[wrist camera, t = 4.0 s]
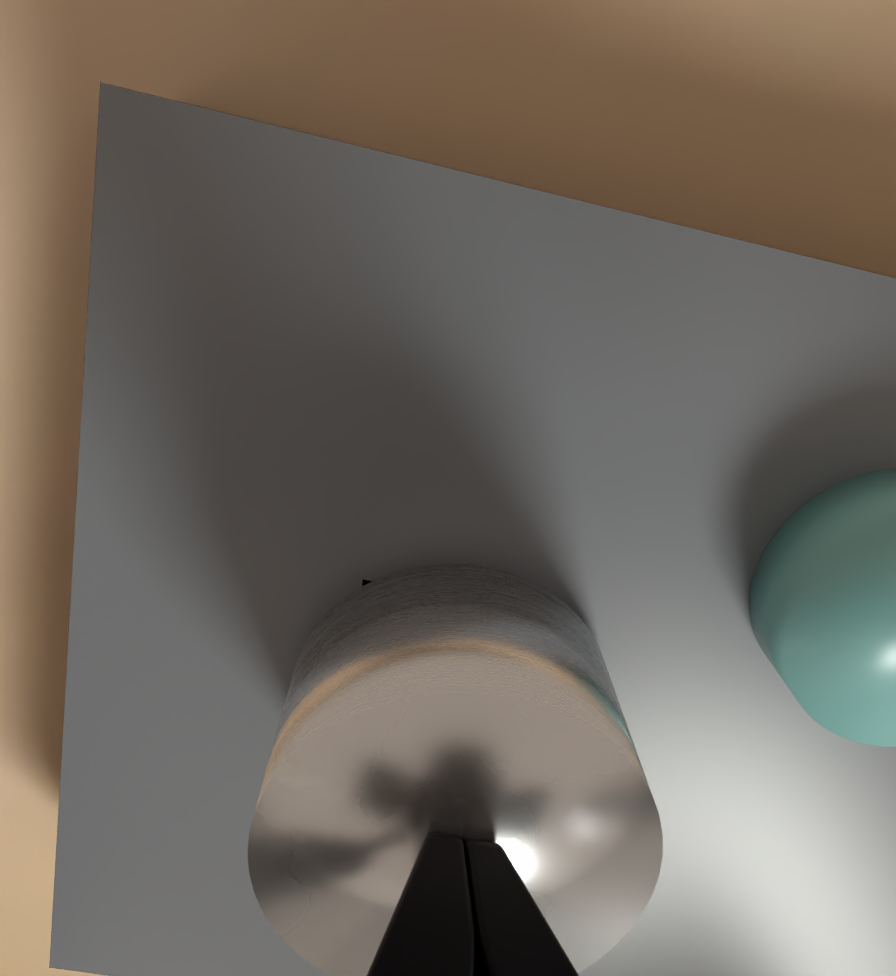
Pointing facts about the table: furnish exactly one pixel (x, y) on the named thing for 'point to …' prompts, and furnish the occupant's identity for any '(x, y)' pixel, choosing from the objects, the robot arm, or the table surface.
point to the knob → (450, 765)
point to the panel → (449, 519)
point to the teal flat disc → (835, 607)
